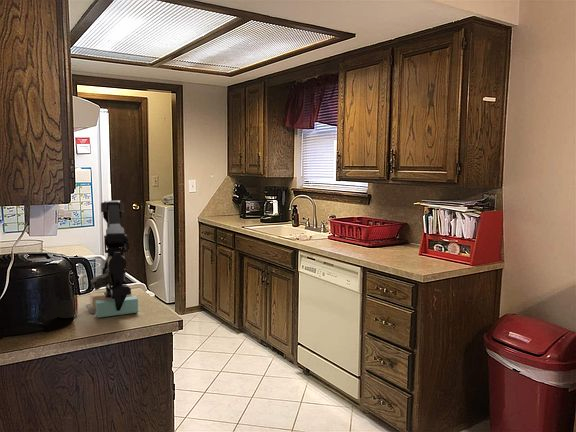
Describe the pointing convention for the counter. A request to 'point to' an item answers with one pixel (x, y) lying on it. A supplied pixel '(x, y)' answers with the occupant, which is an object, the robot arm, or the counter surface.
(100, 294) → the bridge base
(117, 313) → the teal beam
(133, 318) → the counter surface
